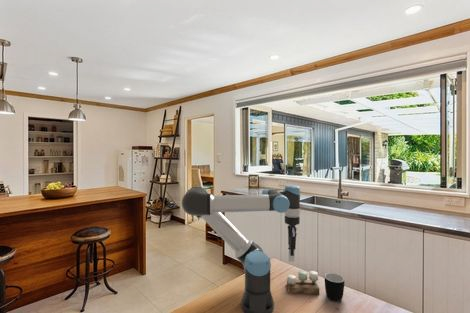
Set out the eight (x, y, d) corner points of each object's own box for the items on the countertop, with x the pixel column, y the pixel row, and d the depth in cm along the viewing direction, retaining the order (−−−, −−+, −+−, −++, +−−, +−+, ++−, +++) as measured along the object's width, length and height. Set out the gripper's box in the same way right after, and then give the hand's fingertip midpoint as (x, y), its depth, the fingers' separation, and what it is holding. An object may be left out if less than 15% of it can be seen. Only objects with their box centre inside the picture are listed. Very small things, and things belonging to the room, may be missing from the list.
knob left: (288, 289, 127) (288, 278, 127) (286, 284, 132) (286, 274, 131) (296, 289, 127) (296, 279, 127) (295, 284, 131) (295, 274, 131)
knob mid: (299, 285, 127) (299, 274, 127) (297, 280, 131) (297, 270, 131) (307, 285, 126) (307, 274, 126) (306, 280, 131) (306, 270, 131)
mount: (288, 293, 125) (289, 287, 125) (286, 284, 133) (286, 278, 133) (319, 294, 124) (319, 288, 124) (315, 285, 132) (315, 280, 132)
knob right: (310, 285, 126) (310, 275, 126) (308, 280, 131) (308, 270, 131) (318, 285, 126) (319, 275, 126) (316, 281, 130) (316, 271, 130)
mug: (346, 304, 116) (347, 283, 116) (326, 302, 118) (327, 281, 117) (339, 290, 128) (339, 270, 128) (321, 288, 129) (321, 269, 129)
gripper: (302, 219, 121) (301, 267, 122) (297, 212, 134) (296, 255, 135) (286, 218, 122) (285, 266, 123) (283, 212, 135) (282, 255, 136)
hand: (291, 260), depth 129 cm, fingers closed
